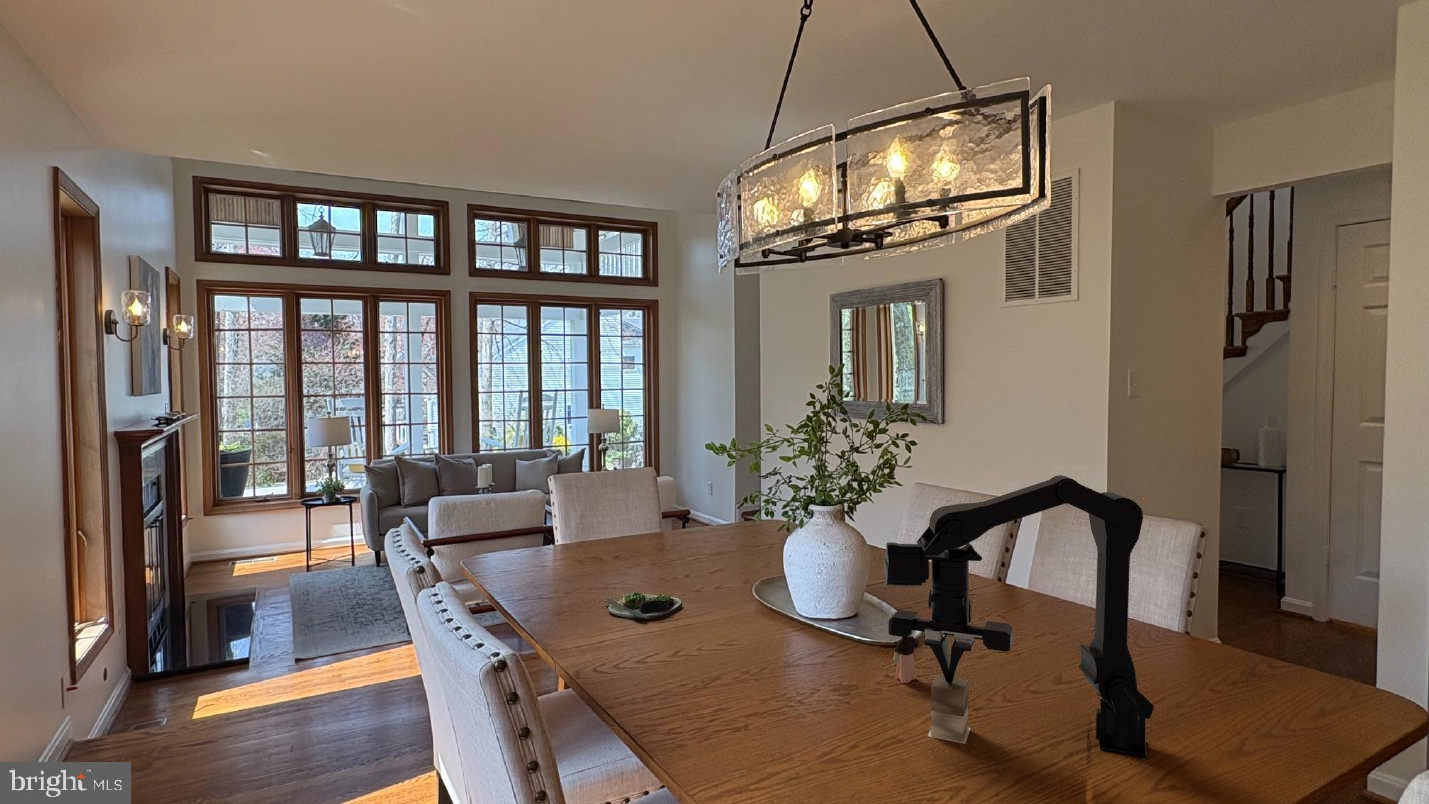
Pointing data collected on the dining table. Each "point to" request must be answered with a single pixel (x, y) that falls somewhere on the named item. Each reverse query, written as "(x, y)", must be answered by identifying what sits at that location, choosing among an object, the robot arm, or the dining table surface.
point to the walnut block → (949, 696)
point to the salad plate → (644, 606)
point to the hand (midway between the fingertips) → (949, 682)
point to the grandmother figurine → (906, 658)
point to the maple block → (949, 725)
